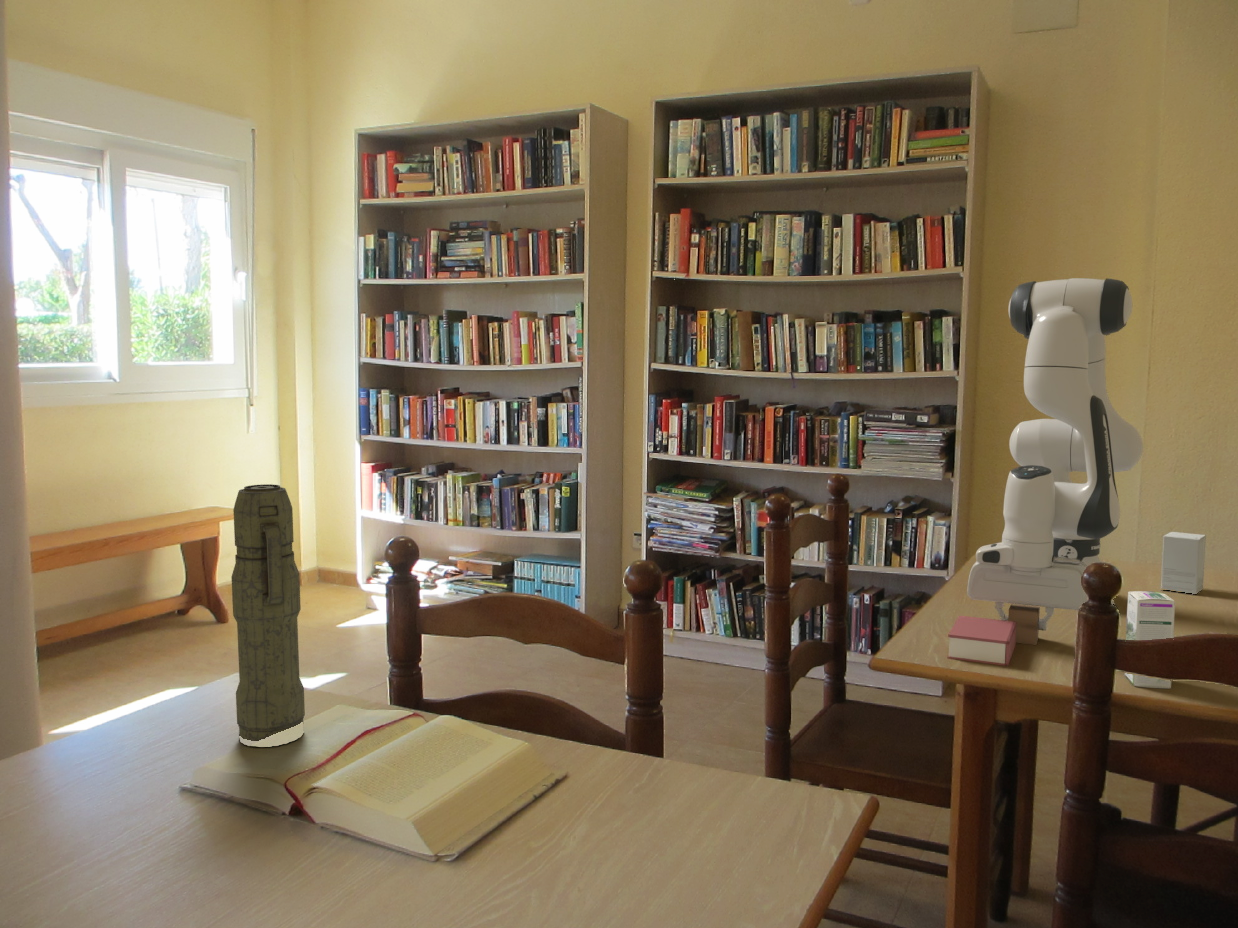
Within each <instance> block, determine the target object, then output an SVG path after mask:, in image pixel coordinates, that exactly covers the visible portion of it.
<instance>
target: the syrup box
mask: <svg viewBox="0 0 1238 928" xmlns="http://www.w3.org/2000/svg"><path fill="white" fill-rule="evenodd" d="M1126 606H1127V607H1126V630H1125V635H1126V636H1125V641H1126V640H1152V639H1166V638H1174V636H1175V635H1174V633H1175V631H1174V630H1175V611H1176V601H1175V600H1174V599H1173V598H1171V597H1170V596H1168V595H1167V594H1166V593H1164V592H1160V591H1147V590H1146V591H1145V590H1136V591H1128V592H1127V605H1126ZM1123 675H1124V677H1125V678H1126V679H1127V680H1128V681H1129V682H1130V683H1131V684H1132V685H1133V686H1134V687H1139V688H1148V689H1149V688H1151V689H1169V690H1170V689H1171V688H1172V680H1171V681H1165V680H1161V679H1156V678H1148V677H1145V676H1138V675H1134V674H1127V673H1124V672H1123Z"/></svg>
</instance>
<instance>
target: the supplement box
mask: <svg viewBox="0 0 1238 928" xmlns="http://www.w3.org/2000/svg"><path fill="white" fill-rule="evenodd" d="M1206 539H1207V535H1206V534H1198V533H1190V532H1187V533H1186V532H1178V531H1170V532H1168V533H1167V534H1164V535H1163V536H1162V556H1161V557H1162V558H1161V559H1162V560H1161V578H1160V589H1161V588H1163V589H1167V590H1174V591H1181V592H1185V593H1184V594H1186V593H1192V594H1191V595H1193V594H1197V593H1198V592H1199V591H1201V590H1202V589H1203V590H1204V580H1205V579H1204V578H1205V577H1204V576H1205V561H1206V560H1205V559H1206ZM1203 590H1202V591H1203ZM1202 591H1201V592H1202ZM1199 593H1200V592H1199ZM1199 593H1198V594H1199ZM1198 594H1197V595H1198Z"/></svg>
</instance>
